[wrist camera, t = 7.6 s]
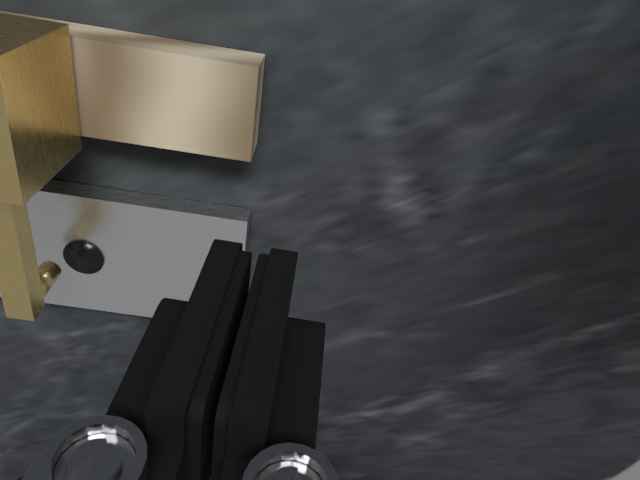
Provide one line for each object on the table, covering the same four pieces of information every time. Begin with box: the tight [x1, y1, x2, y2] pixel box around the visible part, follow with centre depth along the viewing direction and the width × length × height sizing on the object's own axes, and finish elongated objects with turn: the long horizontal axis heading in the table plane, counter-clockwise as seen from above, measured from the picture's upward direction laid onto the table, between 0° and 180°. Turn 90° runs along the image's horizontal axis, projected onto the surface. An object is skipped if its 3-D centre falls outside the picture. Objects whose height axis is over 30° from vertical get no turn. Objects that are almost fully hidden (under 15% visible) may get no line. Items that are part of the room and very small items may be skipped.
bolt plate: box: [0, 179, 251, 318], centre depth 26 cm, size 24×7×1 cm, turn 81°
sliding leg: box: [0, 13, 82, 321], centre depth 20 cm, size 4×12×5 cm, turn 171°
